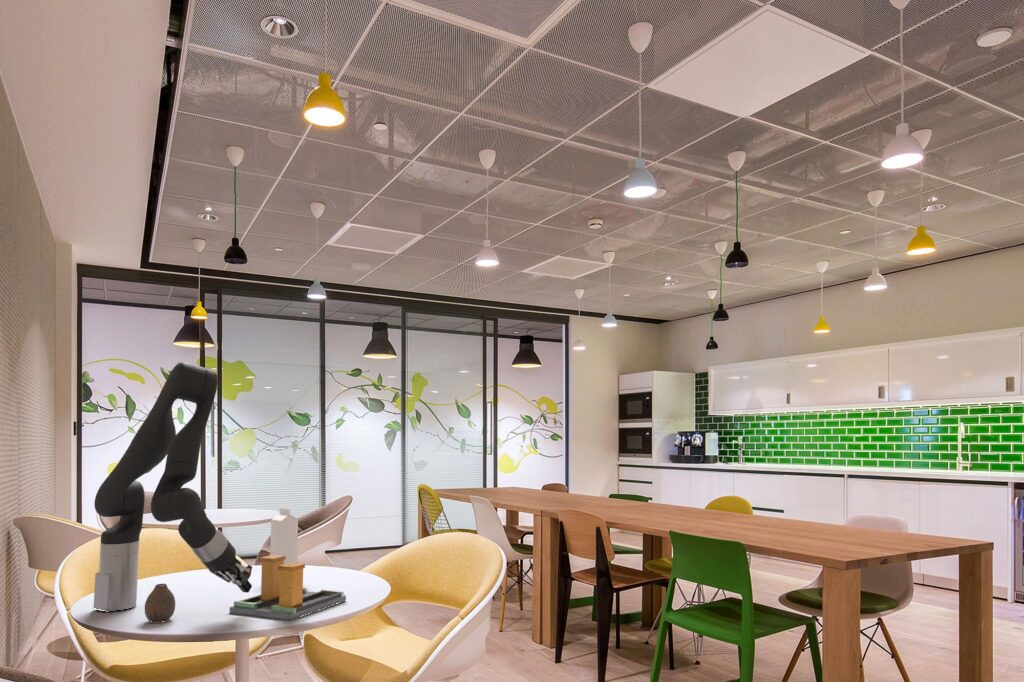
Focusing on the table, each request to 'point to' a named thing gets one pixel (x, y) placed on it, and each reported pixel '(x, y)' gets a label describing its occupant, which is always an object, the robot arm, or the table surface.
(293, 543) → the milk
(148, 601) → the vase
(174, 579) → the table surface
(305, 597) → the twin pillar base
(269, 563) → the orange capped square pillar
